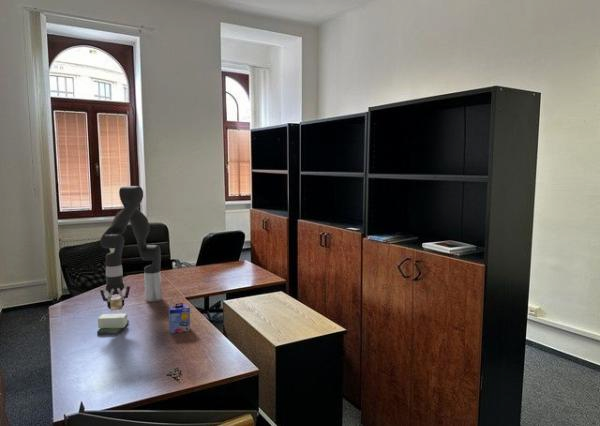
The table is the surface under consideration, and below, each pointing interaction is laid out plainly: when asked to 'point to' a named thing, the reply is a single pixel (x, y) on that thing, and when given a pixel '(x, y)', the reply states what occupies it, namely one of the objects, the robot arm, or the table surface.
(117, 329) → the disk drive
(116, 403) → the table surface
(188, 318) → the ink cartridge box
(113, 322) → the sage plank
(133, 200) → the robot arm
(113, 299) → the maple block
